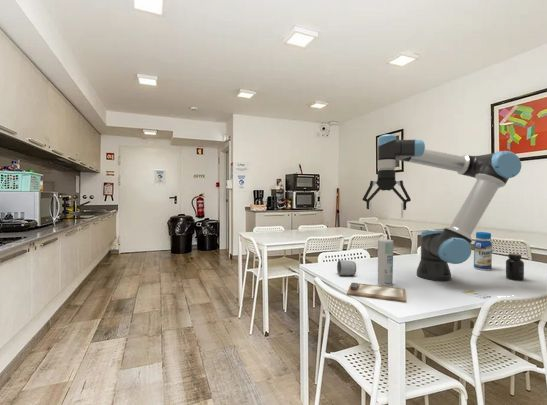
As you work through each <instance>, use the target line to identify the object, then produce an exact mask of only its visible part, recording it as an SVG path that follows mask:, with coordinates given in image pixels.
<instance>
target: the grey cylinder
mask: <svg viewBox="0 0 547 405" xmlns="http://www.w3.org/2000/svg"><path fill="white" fill-rule="evenodd" d="M336 264H337V265H336V270H337V274H338V275H339V276H354V275H356V273H357V265H356V262H355V261H354V260H347V259H345V260H344V259H338V261H337V263H336Z"/></svg>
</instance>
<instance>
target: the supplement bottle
mask: <svg viewBox="0 0 547 405" xmlns="http://www.w3.org/2000/svg"><path fill="white" fill-rule="evenodd" d="M505 278H506V279H507V280H510V281H517V282H521V281H524V279H525V261H523V260H522V254H519V253H508V258H507V259H506V261H505Z"/></svg>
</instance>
